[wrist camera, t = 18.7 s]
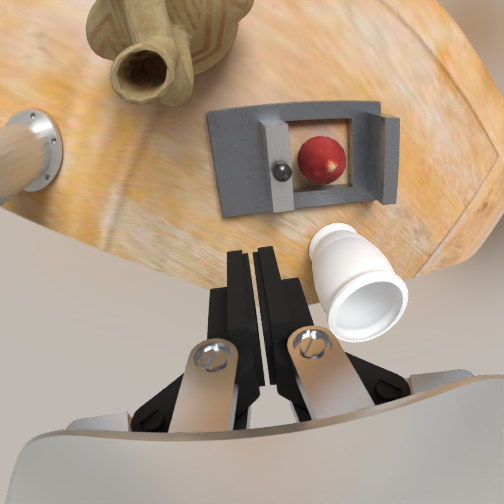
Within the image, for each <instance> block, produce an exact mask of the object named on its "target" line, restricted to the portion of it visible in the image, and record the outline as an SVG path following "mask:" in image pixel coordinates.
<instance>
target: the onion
mask: <svg viewBox="0 0 504 504" xmlns="http://www.w3.org/2000/svg"><path fill="white" fill-rule="evenodd" d="M298 163H299V167H300V171H301V172H302V173H303V175H304V176H305V177H306V178H307V179H309V180H311V181H313V182H315V183H317V184H329V183H331V182H333V181H335V180H337V179H338V178H339V177H340V176H341V175H342V173H343V171H344V169H345V167H346V157H345V153H344V149H343V148H342V147H341V146H340V144H339V143H338V142H337V141H335V140H333V139H331V138H329V137H322V136H317V137H314V138H311V139H309V140H308V141H306V142H305V143H304V144H303V145H302V147H301V149H300V151H299V153H298Z"/></svg>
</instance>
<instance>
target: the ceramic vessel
mask: <svg viewBox="0 0 504 504" xmlns="http://www.w3.org/2000/svg"><path fill="white" fill-rule="evenodd" d="M253 2H254V0H96V2H95V3H94V5H93V6H92V8H91V10H90V12H89V15H88V18H87V22H86V36H87V40H88V43H89V45H90V47H91V49H92V50H93V51H94V52H95V53H96V54H97V55H98V56H100V57H102V58H105V59H109V60H112V61H114V63H113V65H112V67H111V78H110V80H111V83H112V86H113V89H114V90H115V91H116V93H117V94H118V95H119V96H120V97H121V98H122V99H124V100H125V101H127V102H130V103H133V104H147V103H152V102H154V101H157V100H159V101H160V102H161V103H162V104H164V105H167V106H170V107H177V106H181V105H183V104H185V103H186V102H187V101H189V99H190V97H191V96H192V93H193V88H194V76H195V75H198V74H200V73H202V72H204V71H206V70H208V69H210V68H212V67H213V66H214V65H216V64H217V63H218V62H219V61H221V60H222V59H223V58H224V57H225V56H226V54H227V53H228V52H229V50H230V49H231V47H232V45H233V43H234V40H235V38H236V34H237V30H238V22H239V21H240V20H241V19H242V18H243V17H245V16H246V15H247V13H248V12H249V11H250V9H251V8H252V6H253Z"/></svg>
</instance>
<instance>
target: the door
mask: <svg viewBox="0 0 504 504" xmlns="http://www.w3.org/2000/svg"><path fill="white" fill-rule="evenodd" d="M261 129H262V139H263V148H264V158H265V167H266V177H267V188H268V198H269V201H270V204H271V207H272V209H273V212H274V213H277V212H285V211H294V199H293V183H292V168H291V154H290V142H289V129H288V124H286V123H285V122H283V121H282V120H271V121H261Z"/></svg>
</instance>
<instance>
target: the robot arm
mask: <svg viewBox="0 0 504 504" xmlns="http://www.w3.org/2000/svg"><path fill="white" fill-rule="evenodd" d="M61 161H62V140H61V135H60V133H59V130H58V127H57V126H56V124H55V122H54V121H53V120H52V118H51V117H50V116H49V115H47V114H46V113H45V112H43V111H41V110H38V109H26V110H23V111H20V112H18V113H16V114H15V115H13V116H12V117H11V118H10V119H9V121H8V122H7V123H6V125H5V127H2V128H0V206H1V205H3V204H4V203H5V202H7V201H8V200H9V199H11V198H12V197H14V196H15V195H16V194H18V193H19V192H21V191H22V190H23V191H26V192H34V191H38V190H40V189H43V188H44V187H46V186H47V185H48V184H49V183H50V182H51V181H52V180H53V179H54V178H55V176H56V175H57V172H58V170H59V168H60V164H61ZM253 259H254V267H255V275H256V283H257V290H258V298H259V306H260V314H261V321H262V327H263V336H264V342H265V350H266V357H267V364H268V372H269V379H270V385H275V384H276V385H277V391H278V393H279V395H281V396H283V397H285V398H286V399H288V400H289V401H290V406H291V408H292V411H293V414H294V417H295V419H296V422H297V423H293V424H287V425H280V426H273V427H264V428H255V429H249V427H250V416H251V404H252V403H253V402H254V401H255V400H256V399H257V398H258V397H259V395H260V390H259V387H260V386H265V380H264V372H263V364H262V356H261V347H260V339H259V331H258V323H257V315H256V307H255V300H254V293H253V286H252V278H251V271H250V264H249V257H248V253H245V254H242V250H238V251H230V252H227V287H223V288H214V289H211V290H210V298H209V316H208V333H207V340H206V341H203V342H201V343H199V344H198V345H196V346H195V347H194V348H193V349H192V351H191V353H190V356H189V358H188V361H187V365H186V368H185V372H184V373H183V374H182V375H181V376H180V377H178V378H177V379H176V380H175V381H173V382H172V383H171V384H170V385H168V386H167V387H166V388H165V389H163V390H162V391H161V392H159V393H158V394H157V395H156V396H154V397H153V398H152V399H150V400H149V401H148V402H146V403H145V404H144V405H143V406H141V407H140V408H139V409H138V410H137V411H136V412H135V413H134V414H130V415H129V414H128V412H124V413H118V414H112V415H105V416H99V417H92V418H83V419H78V420H75V421H73V422H72V423H70V424H69V425H68V427H67V428H66V429H65V430H57V431H53V432H48V433H45V434H41V435H39V436H36V437H34V438H32V439H31V440H29V441H28V442H27V443H26V444H25V446H24V447H23V448H22V450H21V452H20V454H19V456H18V458H17V461H16V463H15V466H14V469H13V472H12V475H11V479H10V483H9V487H8V492H7V497H6V502H5V504H504V375H478V376H474V375H473V374H472V373H470V372H469V371H467V370H461V369H458V370H451V371H443V372H435V373H425V374H415V375H410V377H409V378H403V377H401V376H399V375H398V374H395V373H393V372H391V371H388V370H386V369H384V368H381V367H378V366H376V365H374V364H372V363H369V362H367V361H365V360H362V359H360V358H357V357H356V356H353V355H351V354H348V353H346V352H344V350H343V349H342V347H341V345H340V343H339V342H338V340H337V338H336V337H335V335H334V334H333V333H332V332H331V331H329V330H328V329H326V328H323V327H320V326H314V324H313V320H312V317H311V314H310V311H309V308H308V305H307V302H306V299H305V296H304V293H303V290H302V287H301V284H300V281H299V278H291V279H284V280H281V277H280V273H279V269H278V265H277V262H276V258H275V254H274V250H273V246H268V247H261V248H258V252H253Z"/></svg>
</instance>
